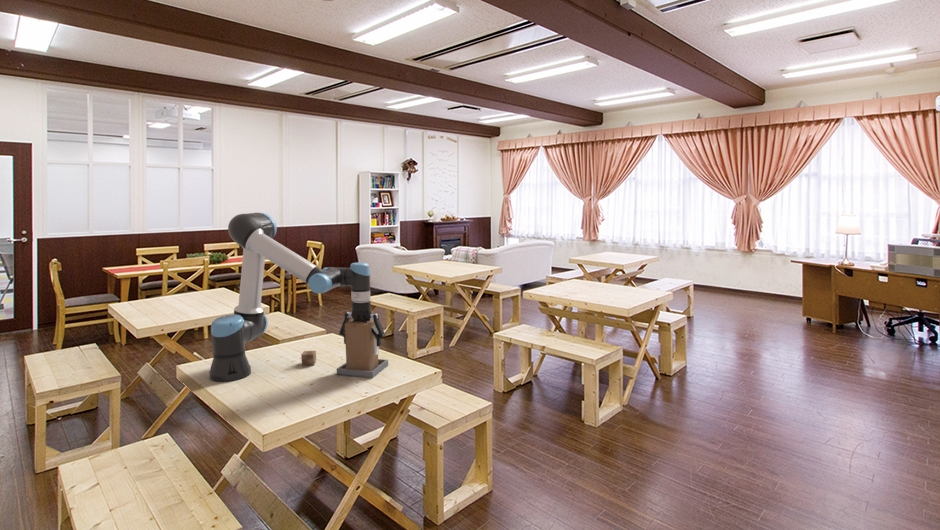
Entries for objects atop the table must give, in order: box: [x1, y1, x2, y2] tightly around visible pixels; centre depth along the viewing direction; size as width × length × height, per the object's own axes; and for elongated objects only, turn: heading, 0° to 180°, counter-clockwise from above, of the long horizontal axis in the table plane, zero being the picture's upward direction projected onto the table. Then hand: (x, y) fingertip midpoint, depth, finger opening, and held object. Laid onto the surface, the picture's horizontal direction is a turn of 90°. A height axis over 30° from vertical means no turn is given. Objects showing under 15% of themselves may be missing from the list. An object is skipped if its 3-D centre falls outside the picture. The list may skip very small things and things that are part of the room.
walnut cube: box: [300, 350, 317, 367], centre depth 220 cm, size 5×5×5 cm
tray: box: [336, 358, 389, 379], centre depth 212 cm, size 16×16×2 cm
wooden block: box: [345, 318, 379, 371], centre depth 211 cm, size 10×10×20 cm
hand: (362, 352), depth 211 cm, fingers open, 12 cm apart
